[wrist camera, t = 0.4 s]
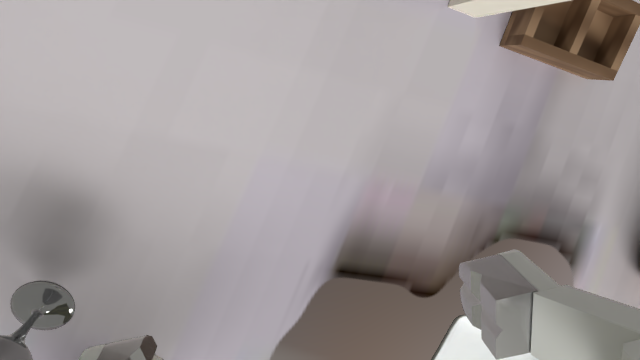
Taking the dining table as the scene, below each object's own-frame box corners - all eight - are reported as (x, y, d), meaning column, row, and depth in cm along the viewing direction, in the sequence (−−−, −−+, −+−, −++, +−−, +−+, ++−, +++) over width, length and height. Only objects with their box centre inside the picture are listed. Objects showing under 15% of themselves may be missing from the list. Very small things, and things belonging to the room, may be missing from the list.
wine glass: (8, 274, 45) (-97, 370, 31) (81, 283, 47) (13, 376, 33) (4, 329, 47) (-97, 442, 33) (75, 335, 49) (7, 445, 35)
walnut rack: (586, 78, 52) (613, 80, 48) (499, 45, 48) (520, 44, 45) (617, 11, 50) (647, 7, 46) (528, -29, 46) (553, -37, 42)
